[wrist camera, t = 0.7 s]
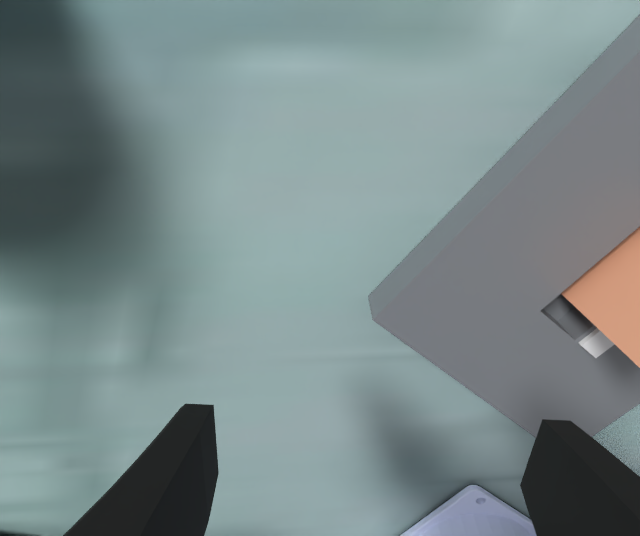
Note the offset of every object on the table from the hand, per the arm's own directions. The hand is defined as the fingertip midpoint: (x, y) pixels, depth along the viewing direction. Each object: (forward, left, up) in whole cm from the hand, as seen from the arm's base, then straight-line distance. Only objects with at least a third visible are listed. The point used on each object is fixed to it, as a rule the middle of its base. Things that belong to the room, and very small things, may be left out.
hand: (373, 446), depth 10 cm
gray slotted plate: (-8, -7, -10) cm, 14 cm away
